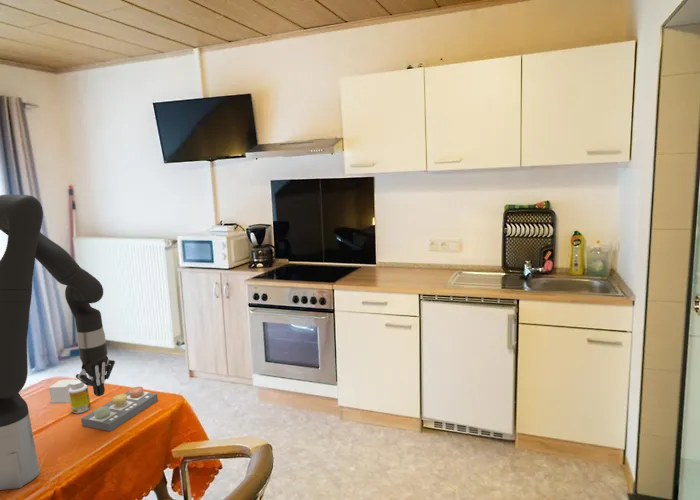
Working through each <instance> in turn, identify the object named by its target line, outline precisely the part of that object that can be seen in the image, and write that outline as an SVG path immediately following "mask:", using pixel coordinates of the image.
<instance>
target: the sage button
mask: <svg viewBox="0 0 700 500" xmlns="http://www.w3.org/2000/svg"><path fill="white" fill-rule="evenodd" d="M103 406H104V405H103ZM93 411H94V414H95V417H96V418H103V417H106V416H108V415H109V414H110V407H108V406H104V407H102V406H100V407H98V408H96V409H95V410H93Z"/></svg>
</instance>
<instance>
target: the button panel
mask: <svg viewBox="0 0 700 500" xmlns="http://www.w3.org/2000/svg"><path fill="white" fill-rule="evenodd" d="M123 394H126V395H127V401H126V402H125V403H123V404H119V405H114V404H113V402H112V400H111V401H109V402H107V403H105V404H104V405H102V406H101V407H104V406H108V407H110V414H109V415H108V416H106V417H103V418H96V417H95V414H94V411H95V410H93V411H92V412H90V413H88V414H86V415H85V416H83V417H81V419H80V421H81V425H82V427H85V428H90V429H91V428H92V429H96V430H102V431H107V432H109V433H110V432H113V430H115V429H117V428H119V427H120V426H122V425H123V424H124V423H126V422H128V421H130V420H131V419H132V418H135V416H137V415H138V414H140V413H142V412H143V411H145V410H146V409H147V408H149V407H150V406H152V405H154V403H157V402H158V401H159V399H158V393H153V392H149V391H144V393H143V394H142V395H140V396H137V397H131V396H130V393H129V390H127V391H126V392H124V393H123Z"/></svg>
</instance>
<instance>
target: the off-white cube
mask: <svg viewBox="0 0 700 500" xmlns="http://www.w3.org/2000/svg"><path fill="white" fill-rule="evenodd" d="M75 380H77V378H76V379H59V380H58V381H56V382H55V383H54V384H52V385H50V386H49V387H48V391H49V396H50V401H51V404H66V403H67V404H68V403H69V402H70V397H69V389H70V388H71V387H70V383H71V382H72V381H75Z"/></svg>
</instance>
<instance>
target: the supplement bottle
mask: <svg viewBox="0 0 700 500" xmlns="http://www.w3.org/2000/svg"><path fill="white" fill-rule="evenodd" d="M70 387H71V388H70V389H69V397H70V401H69V402H70V406H71V412H72V413H74V414H82V413H85V412H87V411H88V410H89V409H90V408H91V401H90V394H89V390H88V389H89V388H88V385H86V384H84V383H83V382H81V381H80V380H79V379H76V380H75V381H72V382H71V383H70Z"/></svg>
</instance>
